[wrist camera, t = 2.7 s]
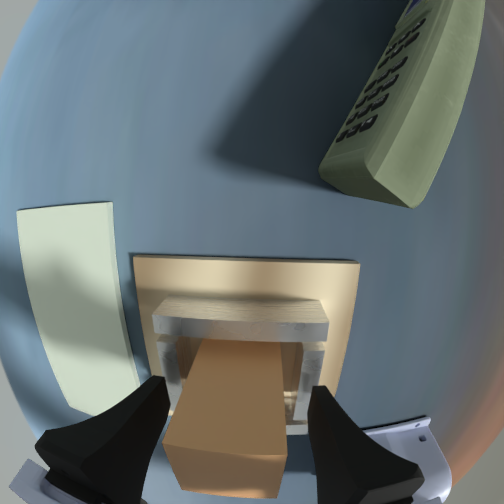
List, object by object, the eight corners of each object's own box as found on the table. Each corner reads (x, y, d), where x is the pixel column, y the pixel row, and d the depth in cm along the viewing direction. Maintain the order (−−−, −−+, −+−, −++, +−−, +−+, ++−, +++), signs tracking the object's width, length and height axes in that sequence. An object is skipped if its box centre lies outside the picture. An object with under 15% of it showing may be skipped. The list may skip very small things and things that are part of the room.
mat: (112, 201, 14) (107, 202, 13) (154, 428, 18) (152, 432, 17) (21, 210, 14) (16, 210, 13) (72, 402, 18) (69, 406, 18)
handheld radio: (305, 169, 13) (426, -36, 7) (357, 203, 13) (455, -13, 8) (349, 160, 7) (458, -67, 1) (429, 224, 7) (492, -39, 1)
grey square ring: (319, 300, 14) (329, 322, 11) (302, 407, 16) (306, 434, 13) (169, 294, 14) (151, 314, 12) (184, 400, 16) (174, 425, 14)
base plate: (356, 261, 14) (360, 264, 13) (325, 417, 17) (326, 423, 16) (137, 254, 14) (132, 257, 14) (164, 408, 17) (162, 414, 16)
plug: (279, 332, 14) (287, 455, 7) (275, 386, 15) (277, 498, 7) (206, 329, 14) (161, 443, 7) (210, 382, 15) (181, 489, 8)
